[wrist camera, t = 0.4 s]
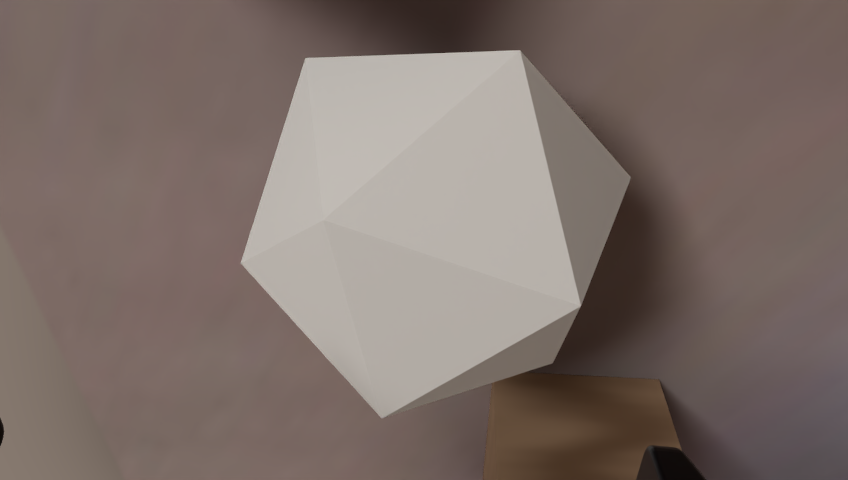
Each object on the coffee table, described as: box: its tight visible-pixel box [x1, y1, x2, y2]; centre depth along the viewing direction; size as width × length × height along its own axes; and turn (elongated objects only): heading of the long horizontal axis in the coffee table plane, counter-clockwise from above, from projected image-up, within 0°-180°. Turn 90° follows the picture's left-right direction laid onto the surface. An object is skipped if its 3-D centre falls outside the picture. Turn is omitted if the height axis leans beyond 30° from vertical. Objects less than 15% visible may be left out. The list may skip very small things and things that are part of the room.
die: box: [241, 50, 631, 418], centre depth 17 cm, size 8×9×10 cm
